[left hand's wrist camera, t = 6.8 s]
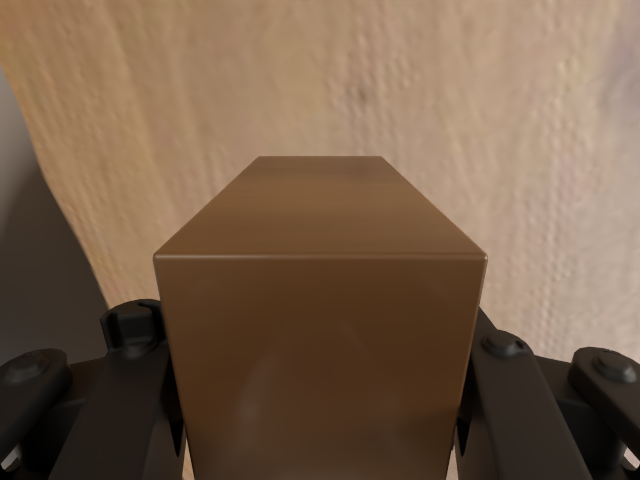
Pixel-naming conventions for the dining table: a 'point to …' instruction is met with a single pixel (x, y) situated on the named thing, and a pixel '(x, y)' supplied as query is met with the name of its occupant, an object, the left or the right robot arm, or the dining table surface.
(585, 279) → the dining table surface
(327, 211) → the bar
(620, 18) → the dining table surface
